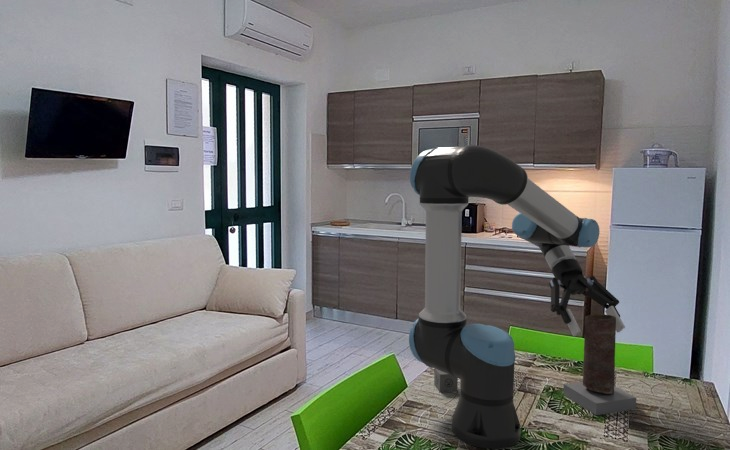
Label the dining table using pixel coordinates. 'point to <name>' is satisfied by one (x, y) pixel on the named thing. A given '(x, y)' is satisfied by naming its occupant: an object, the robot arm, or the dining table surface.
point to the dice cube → (445, 381)
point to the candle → (599, 353)
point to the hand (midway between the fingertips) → (599, 332)
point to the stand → (599, 399)
